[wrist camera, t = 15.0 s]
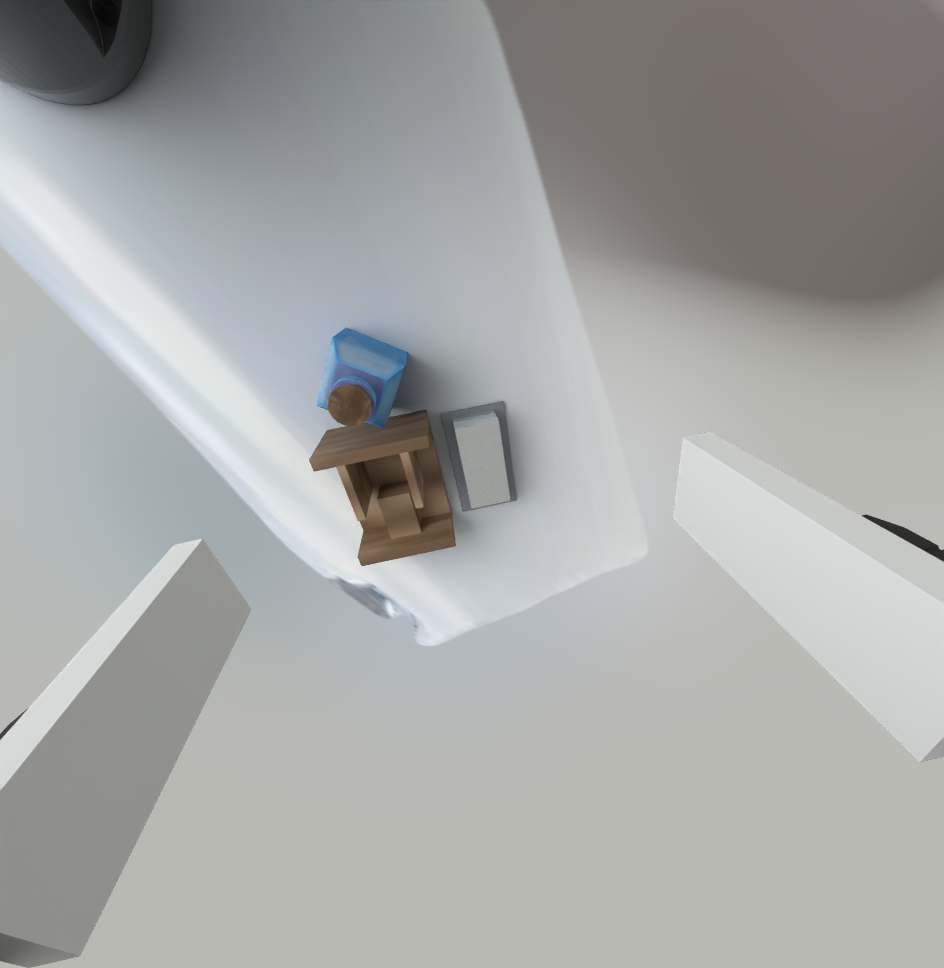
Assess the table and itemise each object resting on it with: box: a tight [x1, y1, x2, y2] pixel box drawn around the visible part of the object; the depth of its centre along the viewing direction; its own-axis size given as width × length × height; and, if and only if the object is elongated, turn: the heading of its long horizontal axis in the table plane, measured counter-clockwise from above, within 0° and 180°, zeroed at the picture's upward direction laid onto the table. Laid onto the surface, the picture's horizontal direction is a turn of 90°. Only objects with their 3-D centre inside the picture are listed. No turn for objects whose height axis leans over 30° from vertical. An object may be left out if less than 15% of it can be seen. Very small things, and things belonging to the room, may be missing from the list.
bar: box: [452, 409, 510, 509], centre depth 42 cm, size 10×5×4 cm, turn 10°
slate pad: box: [441, 401, 517, 511], centre depth 45 cm, size 13×7×1 cm, turn 10°
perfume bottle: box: [317, 328, 408, 429], centre depth 33 cm, size 6×6×12 cm
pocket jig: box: [309, 410, 456, 566], centre depth 41 cm, size 14×11×8 cm
